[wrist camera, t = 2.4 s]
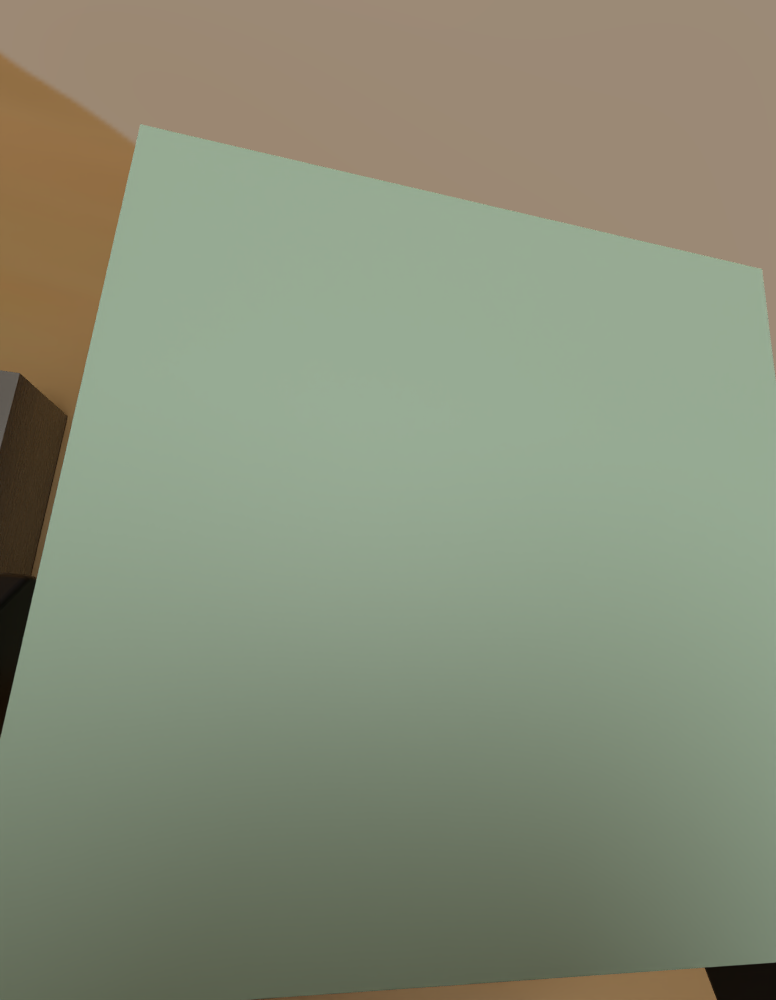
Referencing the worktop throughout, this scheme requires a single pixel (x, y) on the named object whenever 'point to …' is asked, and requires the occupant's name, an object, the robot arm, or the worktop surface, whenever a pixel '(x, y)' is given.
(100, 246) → the worktop surface
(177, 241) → the bar
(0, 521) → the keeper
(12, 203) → the worktop surface
